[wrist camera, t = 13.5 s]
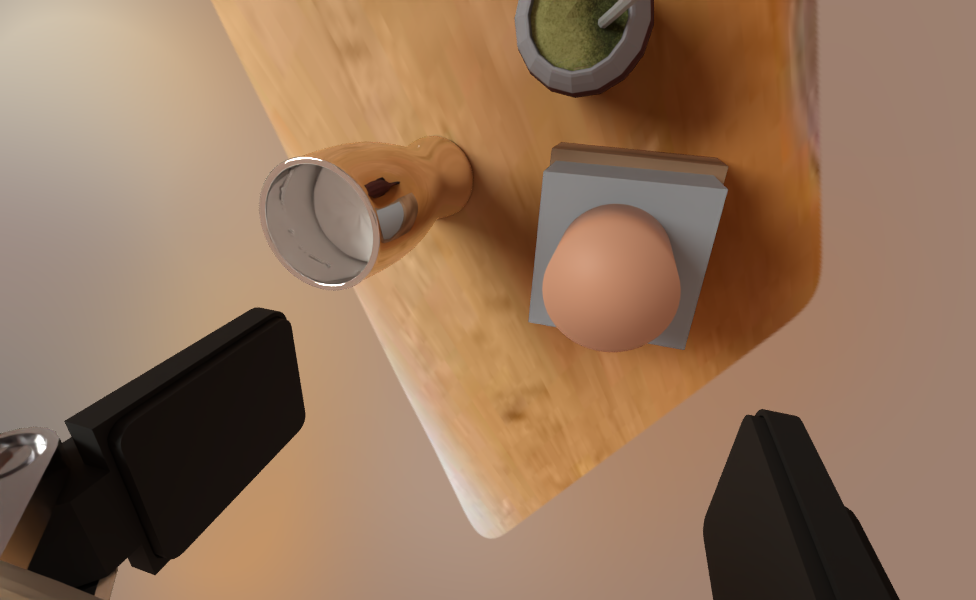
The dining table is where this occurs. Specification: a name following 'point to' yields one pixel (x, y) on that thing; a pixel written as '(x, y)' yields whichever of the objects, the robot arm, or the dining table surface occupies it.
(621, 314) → the peach rounded cylinder
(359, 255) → the beer glass
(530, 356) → the dining table surface
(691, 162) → the walnut base block
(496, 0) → the dining table surface
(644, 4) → the mate gourd
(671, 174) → the slate top block
